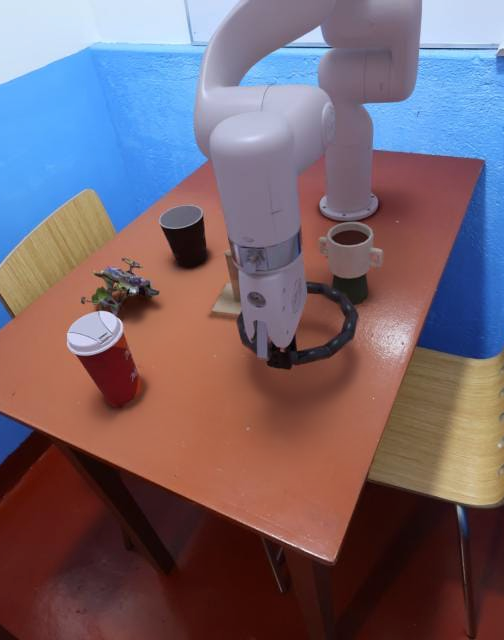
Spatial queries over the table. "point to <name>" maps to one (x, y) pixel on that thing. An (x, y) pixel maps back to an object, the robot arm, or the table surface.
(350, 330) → the ring
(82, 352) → the paper cup
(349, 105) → the robot arm
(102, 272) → the passion flower
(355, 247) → the white handled cup
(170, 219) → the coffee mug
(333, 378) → the table surface
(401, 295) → the table surface
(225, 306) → the post
